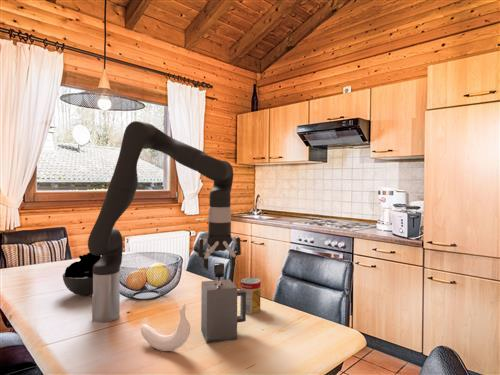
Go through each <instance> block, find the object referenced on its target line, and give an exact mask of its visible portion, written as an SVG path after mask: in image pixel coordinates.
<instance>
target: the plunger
mask: <svg viewBox="0 0 500 375" xmlns="http://www.w3.org/2000/svg"><path fill="white" fill-rule="evenodd" d="M213 277H214V278H217V279H216V280H217V286H221V280H222V278H223V277H225V263H224V262H216V263H213Z"/></svg>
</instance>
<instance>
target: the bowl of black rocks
mask: <svg viewBox="0 0 500 375" xmlns="http://www.w3.org/2000/svg"><path fill="white" fill-rule="evenodd" d="M101 257H102V255H101V256H95V255H93V254H91V253H90V251H89V252H88V253H86V254H83V255H78V258H79V260H78V261H74V262H73V263H70V265H69V266H66V267H65V271H64V273H63V274H62V279H63V284H64V285H65V287H66V288H67V290H69V291H70V292H71V293H72V294H75V295H78V296H81V297H88V296H92V295H93V266H94V265H95V264H96V263H97V262H98V261H99V260H100V259H101Z"/></svg>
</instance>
